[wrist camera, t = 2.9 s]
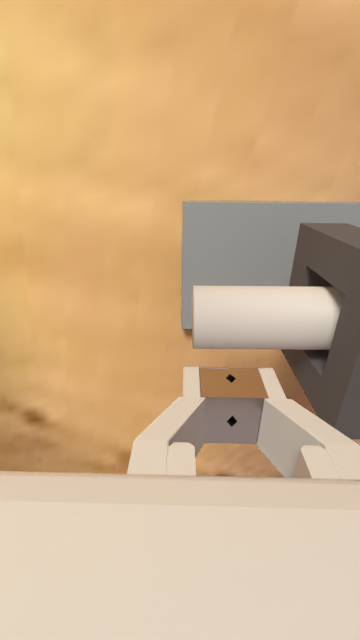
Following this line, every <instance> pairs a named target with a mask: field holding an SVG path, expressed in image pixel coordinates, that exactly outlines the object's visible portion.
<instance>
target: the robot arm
mask: <svg viewBox="0 0 360 640" xmlns="http://www.w3.org/2000/svg"><path fill="white" fill-rule="evenodd" d="M203 443H237V444H257V447H258V448H259V449H260V450H261V451H262V452H263V454H264V455H265V456H266V457H267V458H268V459H269V460H270V462H271V463H272V464H273V465H274V466H275V467H276V468H277V470H278V471H279V472H280V473H281V474H282V475H283V476H284V477H285V478H277V477H234V476H196V467H195V457H196V456H197V454H198V452H199V451H200V449H201V448H202V446H203ZM0 640H360V445H358V444H357V443H356V442H354V441H353V440H351V439H350V438H348V437H347V436H345V435H344V434H342V433H341V432H339V431H338V430H336V429H335V428H333V427H332V426H330V425H329V424H327V423H326V422H325V421H323V420H322V419H320V418H319V417H317V416H316V415H314V414H313V413H311V412H310V411H308V410H307V409H305V408H304V407H302V406H301V405H299V404H298V403H296V402H295V401H294V400H292V399H287V398H286V396H285V393H284V391H283V389H282V387H281V385H280V382H279V380H278V378H277V376H276V374H275V371H274V369H272V368H221V367H196V366H184V368H183V397H178V398H177V399H176V400H175V401H174V402H173V403H172V404H171V405H170V406H169V407H168V408H167V409H166V410H164V411H163V412H162V413H161V414H160V415H159V416H158V417H157V418H156V419H155V420H154V421H153V422H152V423H151V424H150V425H149V426H148V427H147V428H146V429H145V430H144V431H143V432H142V433H141V434H140V435H139V436H138V437H137V438H136V439H135V440H134V442H133V447H132V452H131V457H130V462H129V466H128V471H127V474H112V473H72V472H32V471H0Z"/></svg>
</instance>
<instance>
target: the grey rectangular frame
mask: <svg viewBox="0 0 360 640" xmlns="http://www.w3.org/2000/svg"><path fill="white" fill-rule="evenodd" d="M289 286H307V287H335V288H337V289H338V290H339V291H341V292H342V293H343V294H345V296H344V299H343V303H342V307H341V310H340V314H339V318H338V321H337V325H336V329H335V332H334V336H333V340H332V344H331V347H330V350H296V349H281V351H282V352H283V354H284V356H285V358H286V360H287V361H288V363H289V365H290V367H291V369H292V370H293V372H294V374H295V376H296V377H297V379H298V381H299V383H300V385H301V386H302V388H303V390H304V392H305V394H306V395H307V397H308V399H309V401H310V403H311V404H312V406H313V408H314V410H315V412H316V413H317V415H318V417H319V418H320V419H322V420H323V421H325V422H326V423H327V424H329V425H330V426H332V427H333V428H335V429H336V430H338V431H339V432H341V433H342V434H344V435H345V436H347V437H348V438H350V439H360V227H357V226H354V225H350V224H347V223H300V227H299V233H298V238H297V244H296V250H295V255H294V261H293V266H292V272H291V277H290V283H289Z"/></svg>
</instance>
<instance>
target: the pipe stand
mask: <svg viewBox="0 0 360 640" xmlns="http://www.w3.org/2000/svg"><path fill="white" fill-rule="evenodd" d="M300 223H347V224H350V225H354V226H357V227H360V202H266V201H183V244H182V329H192V343H193V349H296V350H330V347H331V344H332V340H333V336H334V332H335V329H336V325H337V321H338V318H339V314H340V310H341V307H342V303H343V299H344V296H345V294H343V293H342V292H341V291H339V290H338V289H337V288H335V287H307V286H289V283H290V277H291V272H292V266H293V261H294V255H295V250H296V244H297V238H298V233H299V227H300Z"/></svg>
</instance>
